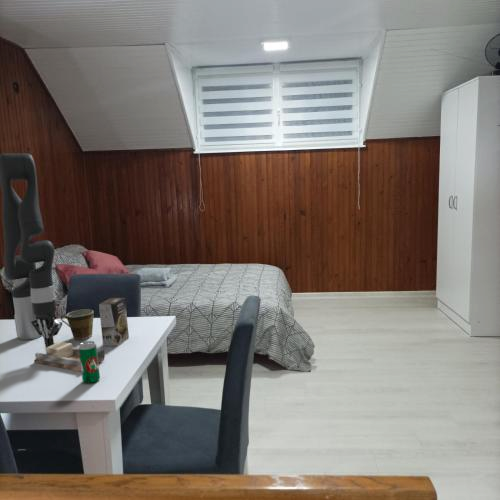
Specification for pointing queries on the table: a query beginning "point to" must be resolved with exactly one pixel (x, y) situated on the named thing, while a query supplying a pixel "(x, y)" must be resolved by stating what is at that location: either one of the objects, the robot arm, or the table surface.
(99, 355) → the shallow wooden tray
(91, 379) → the soda can
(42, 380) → the table surface
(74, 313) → the ceramic cup
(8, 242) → the robot arm
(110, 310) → the coffee box
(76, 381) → the table surface
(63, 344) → the birch block
